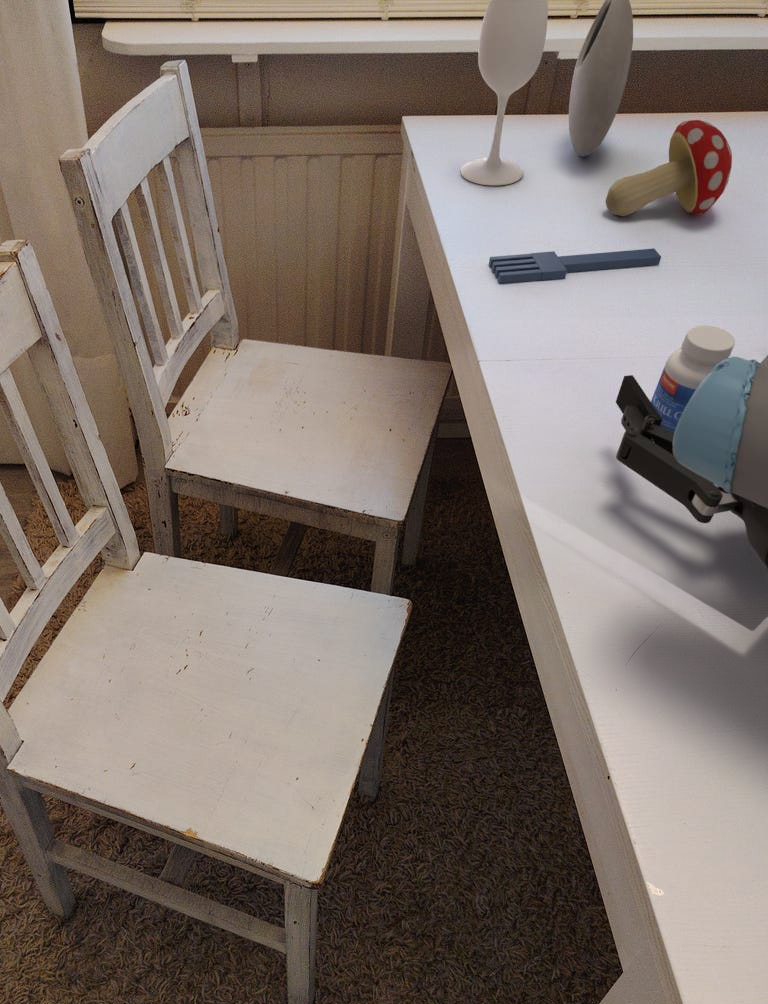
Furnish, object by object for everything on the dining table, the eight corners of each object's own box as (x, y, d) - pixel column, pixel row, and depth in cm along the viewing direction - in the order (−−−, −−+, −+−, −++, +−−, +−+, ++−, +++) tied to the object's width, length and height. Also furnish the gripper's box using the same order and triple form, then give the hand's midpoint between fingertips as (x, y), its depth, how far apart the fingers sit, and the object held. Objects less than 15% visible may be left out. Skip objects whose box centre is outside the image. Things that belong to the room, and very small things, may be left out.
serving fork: (647, 251, 101) (650, 243, 100) (663, 270, 98) (666, 261, 97) (488, 264, 100) (489, 256, 99) (499, 284, 97) (500, 275, 96)
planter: (561, 126, 126) (593, -28, 112) (609, 129, 125) (648, -26, 110) (553, 175, 115) (587, 12, 101) (605, 179, 114) (648, 14, 99)
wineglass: (508, 157, 119) (539, -24, 103) (532, 182, 114) (568, -5, 98) (452, 164, 118) (473, -18, 102) (473, 189, 113) (499, 1, 97)
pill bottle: (630, 429, 79) (664, 336, 71) (661, 405, 81) (697, 313, 73) (682, 455, 76) (722, 361, 68) (713, 430, 78) (755, 336, 71)
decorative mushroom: (605, 149, 99) (736, 92, 96) (587, 168, 110) (704, 117, 106) (627, 243, 102) (755, 191, 98) (608, 253, 113) (723, 206, 109)
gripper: (642, 599, 62) (552, 429, 76) (953, 564, 64) (811, 404, 77) (675, 526, 57) (572, 356, 70) (1017, 490, 58) (851, 330, 71)
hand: (697, 381), depth 73 cm, fingers open, 13 cm apart
